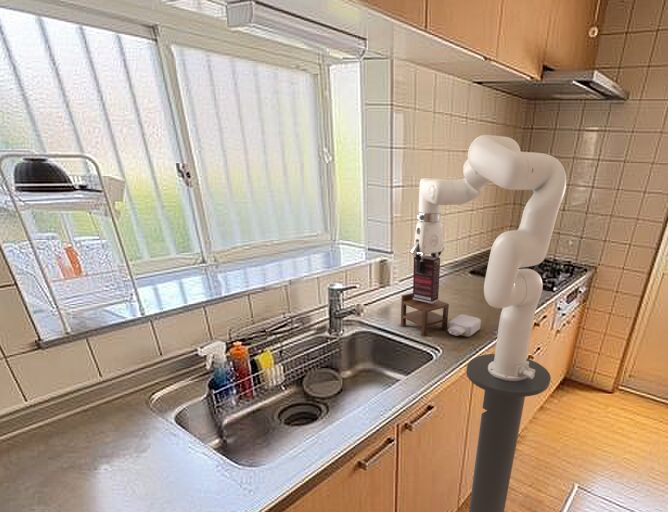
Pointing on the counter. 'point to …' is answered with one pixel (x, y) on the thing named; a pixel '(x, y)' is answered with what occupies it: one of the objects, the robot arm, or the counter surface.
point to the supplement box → (427, 280)
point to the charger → (464, 325)
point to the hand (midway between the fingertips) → (426, 270)
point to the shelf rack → (423, 313)
